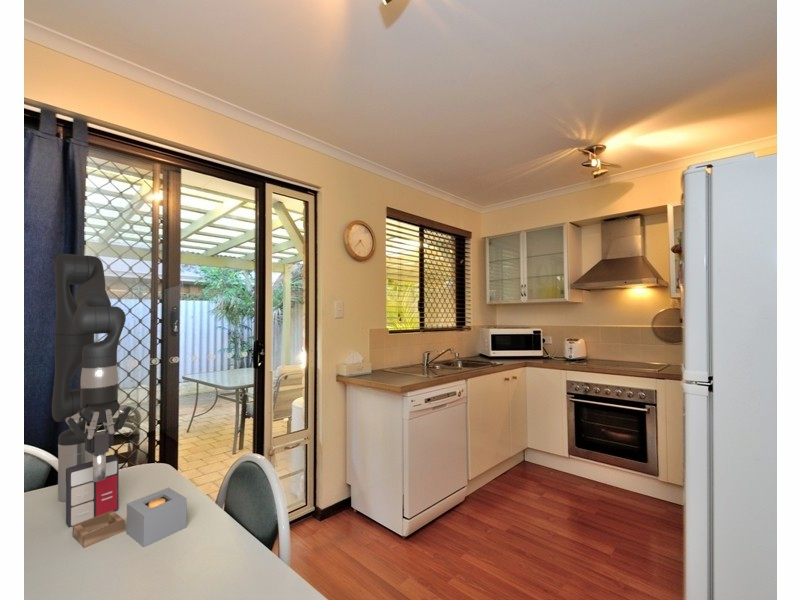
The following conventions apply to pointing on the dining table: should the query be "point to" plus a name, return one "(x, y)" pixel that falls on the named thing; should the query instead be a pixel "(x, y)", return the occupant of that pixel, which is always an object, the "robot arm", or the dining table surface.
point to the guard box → (156, 517)
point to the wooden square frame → (98, 528)
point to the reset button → (156, 502)
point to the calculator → (90, 491)
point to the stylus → (100, 455)
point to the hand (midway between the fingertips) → (99, 450)
